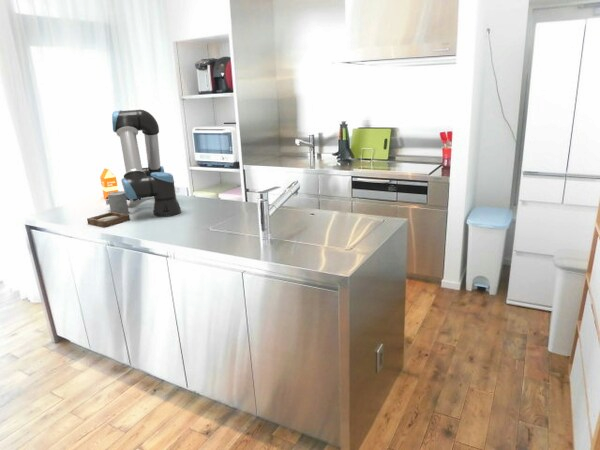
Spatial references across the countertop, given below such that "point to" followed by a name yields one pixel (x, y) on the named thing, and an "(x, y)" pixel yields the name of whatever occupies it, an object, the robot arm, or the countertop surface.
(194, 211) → the countertop surface
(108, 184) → the orange juice
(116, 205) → the speckled white cylinder
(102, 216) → the walnut seat tray
